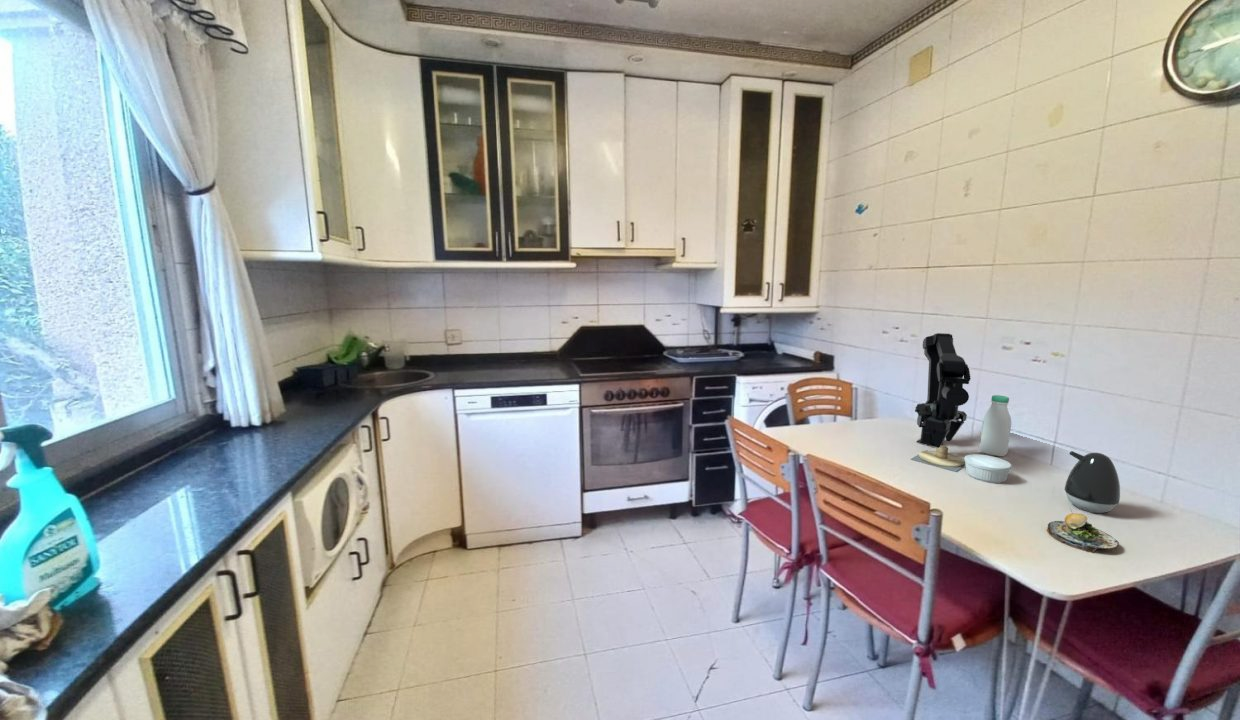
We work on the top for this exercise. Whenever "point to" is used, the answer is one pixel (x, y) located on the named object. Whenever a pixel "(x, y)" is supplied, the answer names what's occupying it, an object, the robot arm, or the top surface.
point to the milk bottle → (996, 428)
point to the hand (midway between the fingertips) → (942, 444)
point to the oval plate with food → (1080, 534)
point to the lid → (941, 458)
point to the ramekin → (987, 468)
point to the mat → (937, 465)
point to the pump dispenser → (1093, 483)
